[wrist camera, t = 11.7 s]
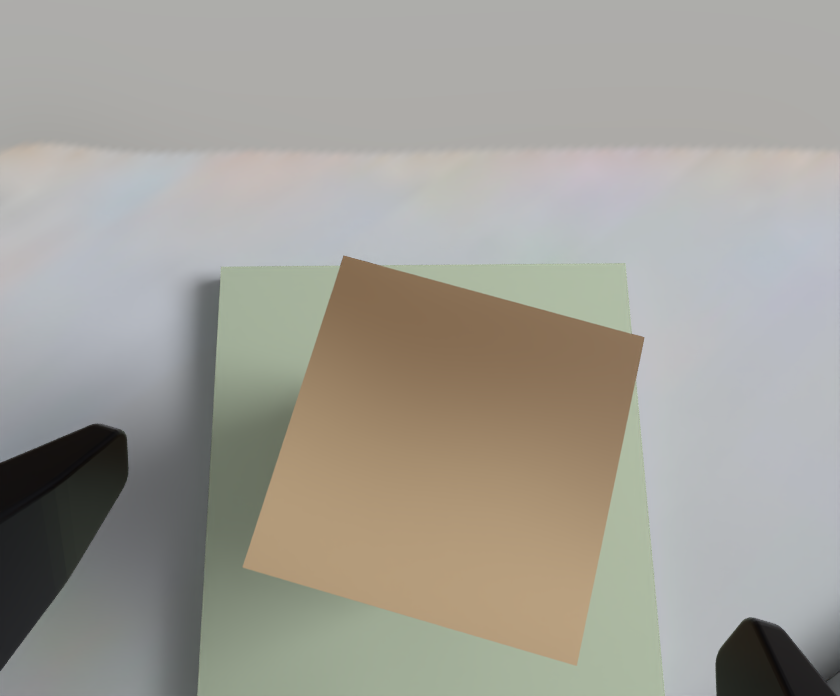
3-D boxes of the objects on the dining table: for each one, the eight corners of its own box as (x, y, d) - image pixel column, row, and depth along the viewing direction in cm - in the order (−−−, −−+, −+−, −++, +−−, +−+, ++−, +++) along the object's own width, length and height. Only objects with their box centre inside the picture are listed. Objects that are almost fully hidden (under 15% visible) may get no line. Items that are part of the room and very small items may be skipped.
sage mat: (651, 692, 17) (665, 704, 16) (208, 702, 17) (196, 715, 16) (614, 274, 20) (625, 263, 19) (230, 278, 20) (221, 266, 19)
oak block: (479, 564, 17) (576, 666, 7) (336, 522, 17) (242, 568, 7) (514, 420, 18) (644, 337, 8) (378, 382, 18) (343, 255, 8)
